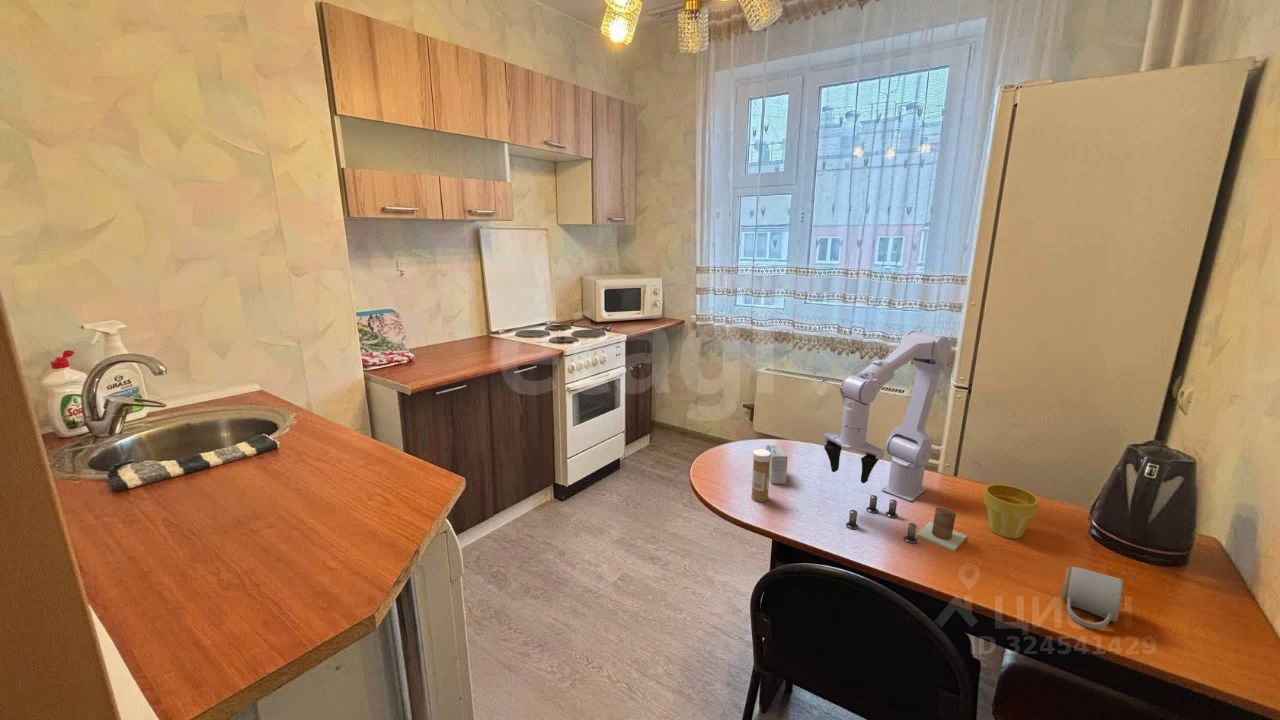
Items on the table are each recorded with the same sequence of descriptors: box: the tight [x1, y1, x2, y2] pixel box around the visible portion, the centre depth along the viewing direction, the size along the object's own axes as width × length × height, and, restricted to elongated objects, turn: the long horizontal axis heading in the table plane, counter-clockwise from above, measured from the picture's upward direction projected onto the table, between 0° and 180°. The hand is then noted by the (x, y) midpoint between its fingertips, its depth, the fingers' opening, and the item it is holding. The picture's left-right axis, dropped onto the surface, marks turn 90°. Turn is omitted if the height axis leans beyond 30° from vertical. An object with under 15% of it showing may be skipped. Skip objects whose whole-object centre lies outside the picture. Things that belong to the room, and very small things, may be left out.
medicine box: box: [765, 444, 789, 485], centre depth 147 cm, size 8×4×9 cm, turn 179°
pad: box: [916, 521, 968, 553], centre depth 119 cm, size 8×8×1 cm
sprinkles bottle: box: [751, 448, 771, 503], centre depth 135 cm, size 5×5×13 cm
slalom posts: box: [845, 494, 918, 545], centre depth 122 cm, size 15×14×4 cm
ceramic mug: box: [1061, 566, 1124, 630], centre depth 95 cm, size 11×8×8 cm
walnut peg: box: [932, 506, 957, 540], centre depth 118 cm, size 4×4×6 cm
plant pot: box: [983, 483, 1040, 540], centre depth 120 cm, size 10×10×10 cm
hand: (849, 476), depth 126 cm, fingers open, 7 cm apart
